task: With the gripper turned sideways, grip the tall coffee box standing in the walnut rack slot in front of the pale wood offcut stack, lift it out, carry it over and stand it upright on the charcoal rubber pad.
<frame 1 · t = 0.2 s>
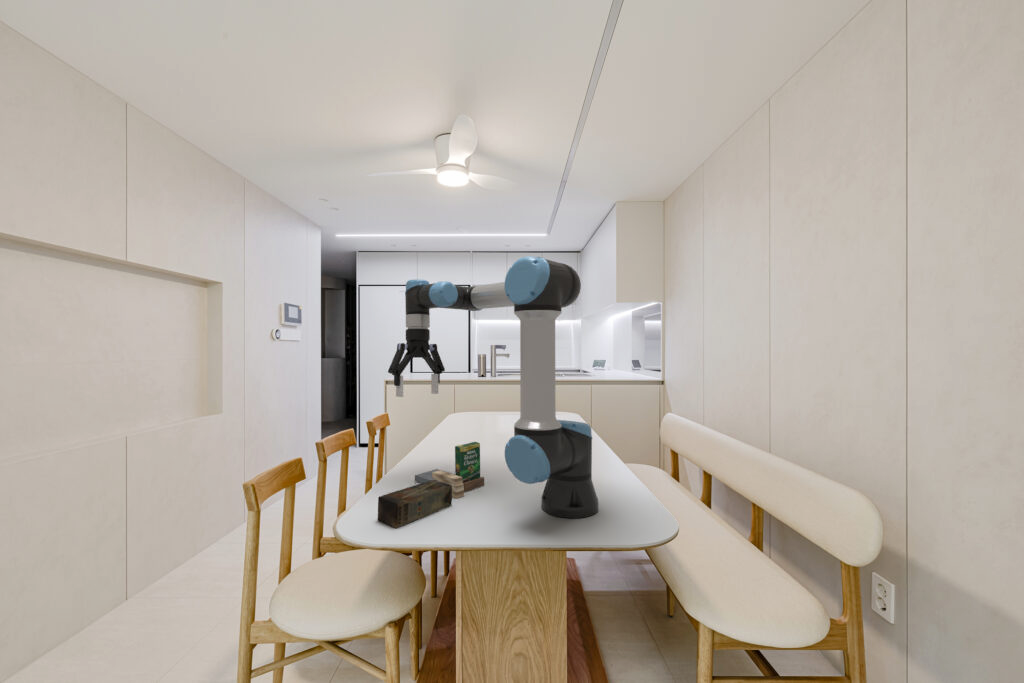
hand: (417, 395, 138), 27 cm above the table, tool pointing down, fingers open, 13 cm apart
offcut stack: (447, 484, 127), on the table
walnut rack: (467, 486, 133), on the table
coffee box: (467, 487, 133), on the table
beverage carton: (416, 514, 112), on the table
stand pad: (435, 481, 138), on the table
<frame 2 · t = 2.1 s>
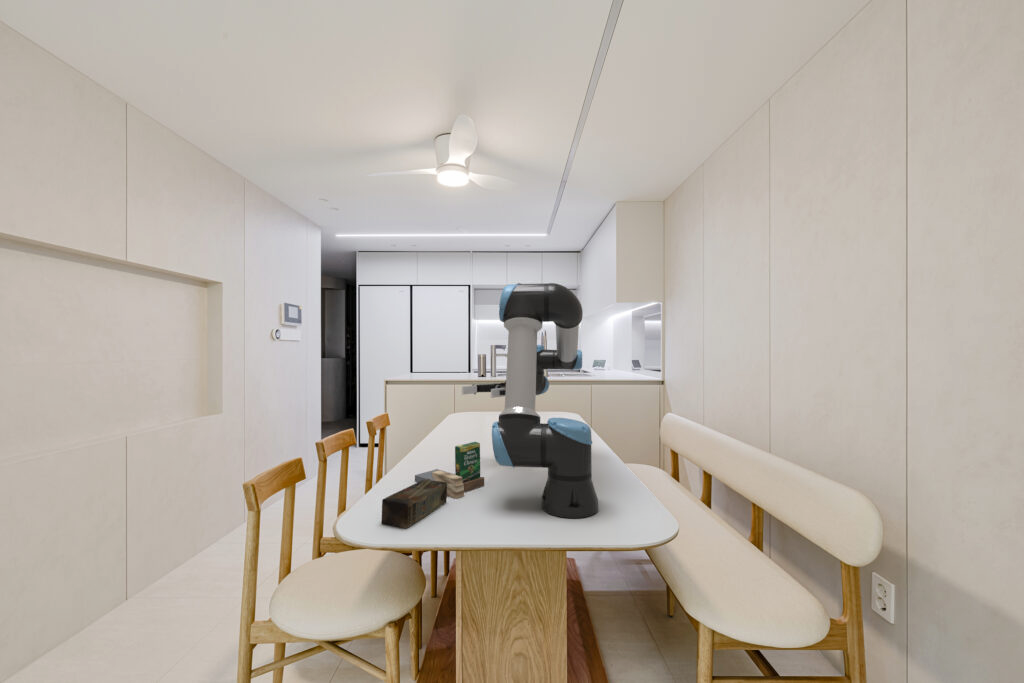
hand: (476, 391, 143), 28 cm above the table, tool horizontal, fingers open, 13 cm apart
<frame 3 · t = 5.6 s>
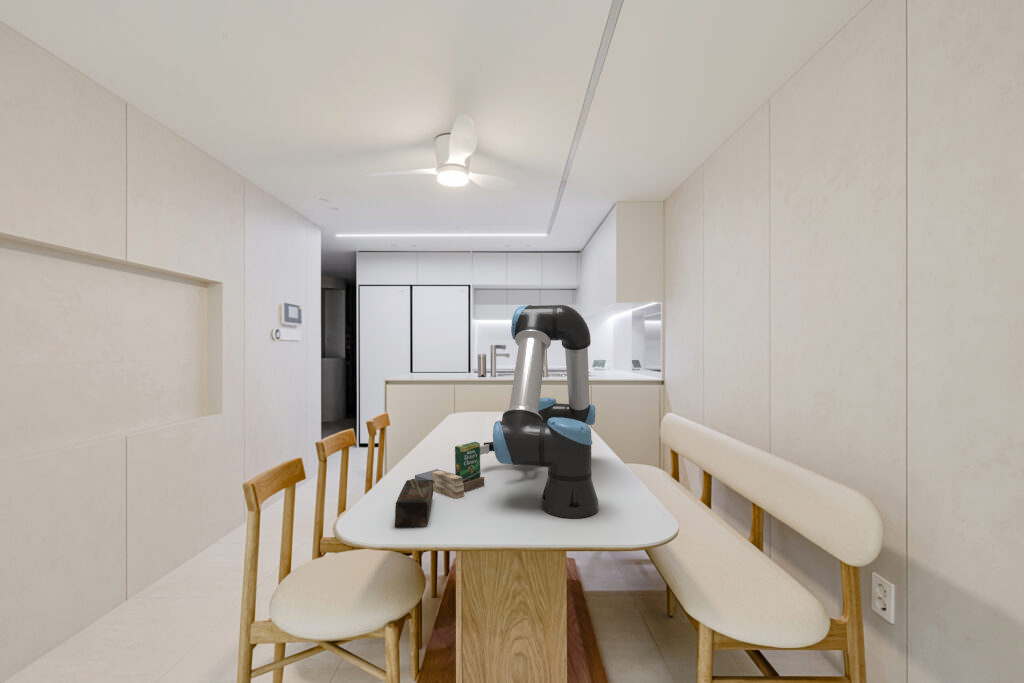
hand: (489, 455, 140), 8 cm above the table, tool horizontal, fingers open, 13 cm apart
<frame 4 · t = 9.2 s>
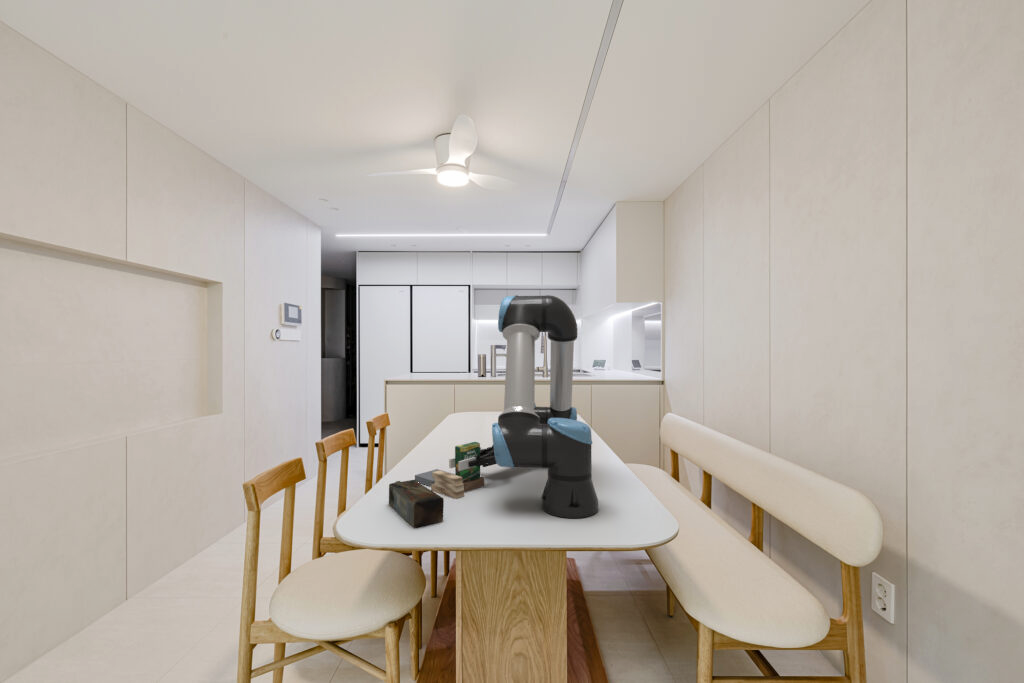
hand: (454, 464, 129), 8 cm above the table, tool horizontal, fingers closed on coffee box, 3 cm apart
coffee box: (467, 487, 133), on the table, touching gripper
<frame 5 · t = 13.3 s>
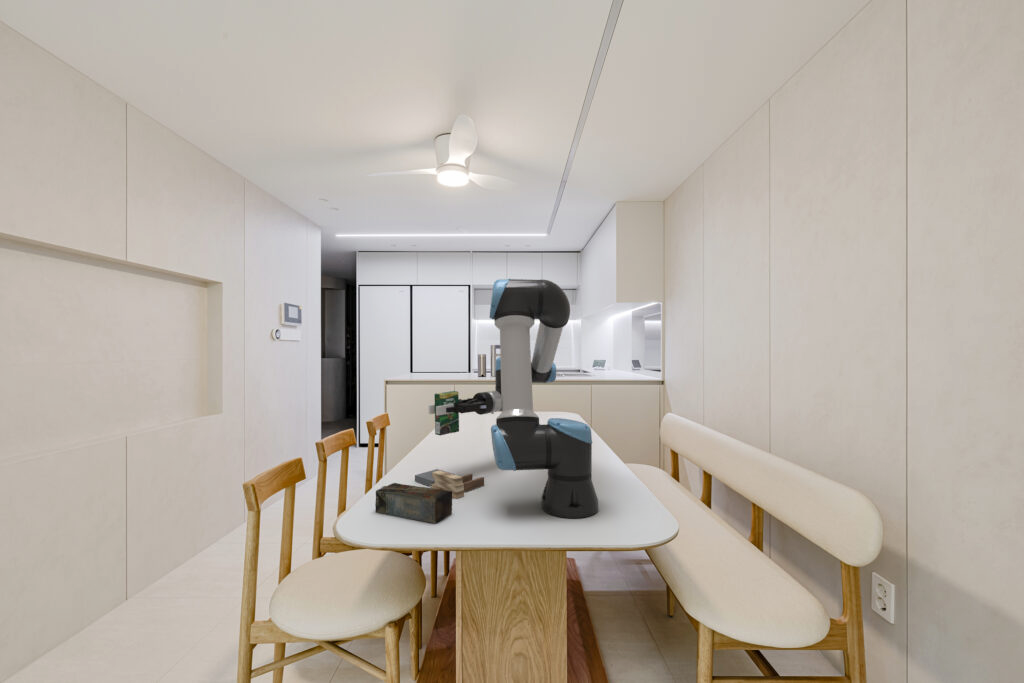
hand: (433, 410, 133), 23 cm above the table, tool horizontal, fingers closed on coffee box, 3 cm apart
coffee box: (447, 434, 138), point 15 cm above the table, touching gripper
when the fingers open (11 cm above the table, at t = 16.9 s): coffee box drops 1 cm, resting on stand pad.
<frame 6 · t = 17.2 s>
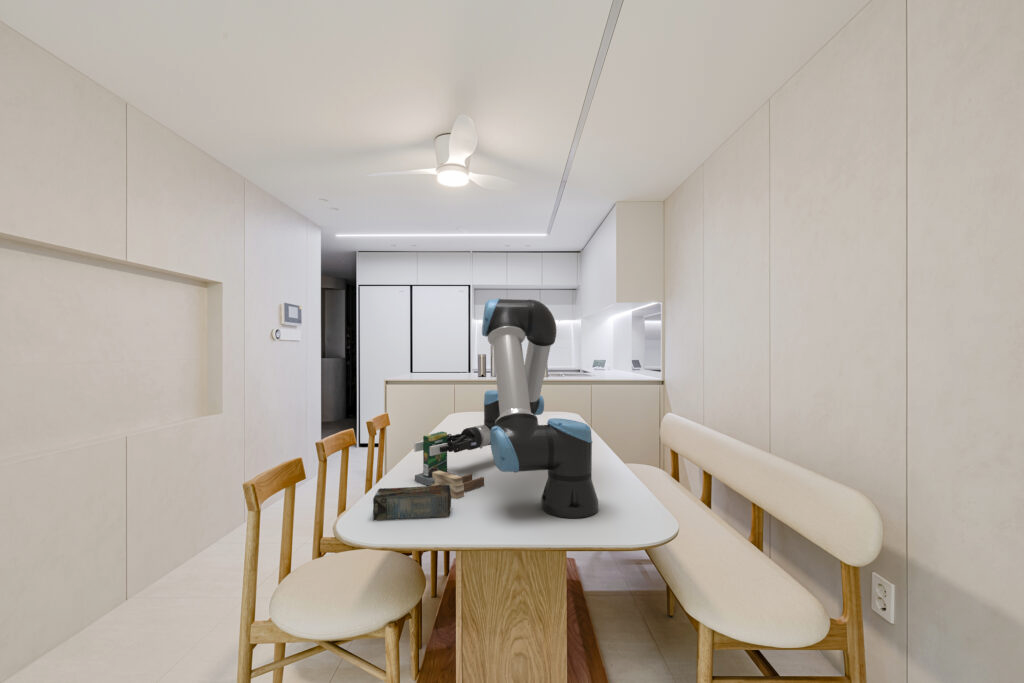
hand: (422, 449, 135), 11 cm above the table, tool horizontal, fingers open, 7 cm apart
coffee box: (435, 475, 138), point 2 cm above the table, touching stand pad
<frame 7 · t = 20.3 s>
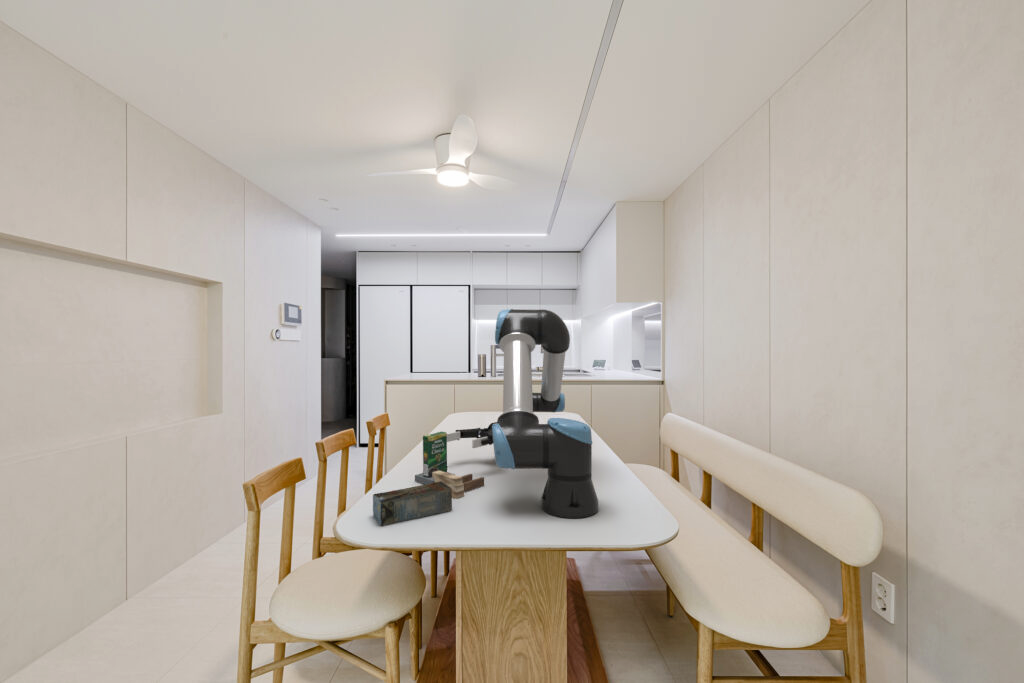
hand: (458, 441, 146), 11 cm above the table, tool horizontal, fingers open, 13 cm apart
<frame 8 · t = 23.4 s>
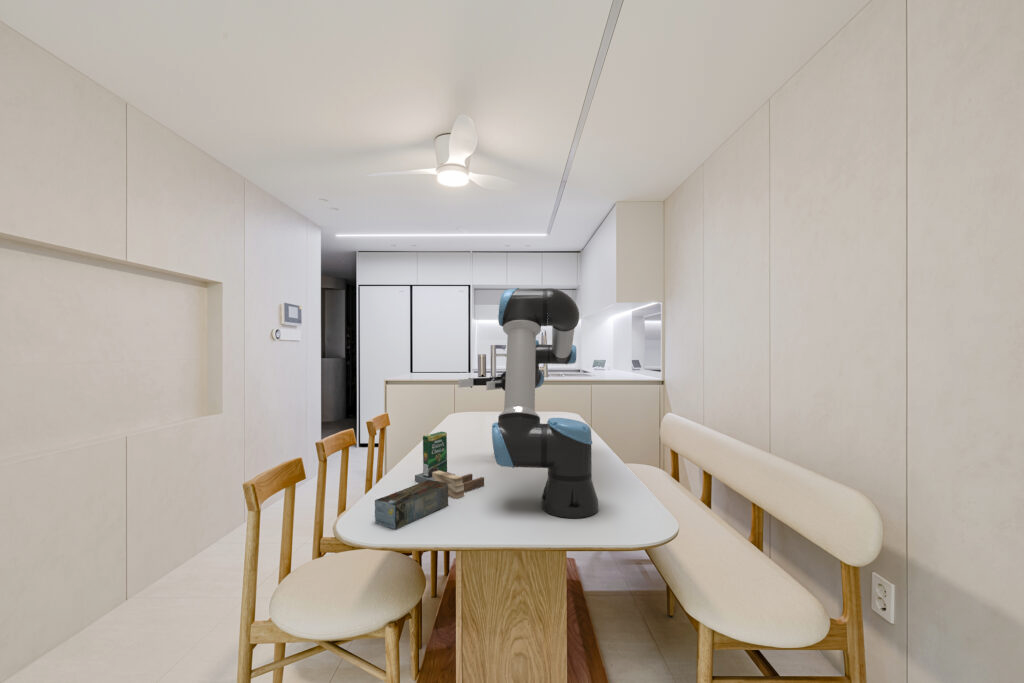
hand: (472, 384, 147), 30 cm above the table, tool horizontal, fingers open, 13 cm apart
at the end: coffee box inside the target area on the stand pad (0.1 cm from its centre), point 1.8 cm above the stand pad's base; coffee box tilted 0°; the gripper is holding nothing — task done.
